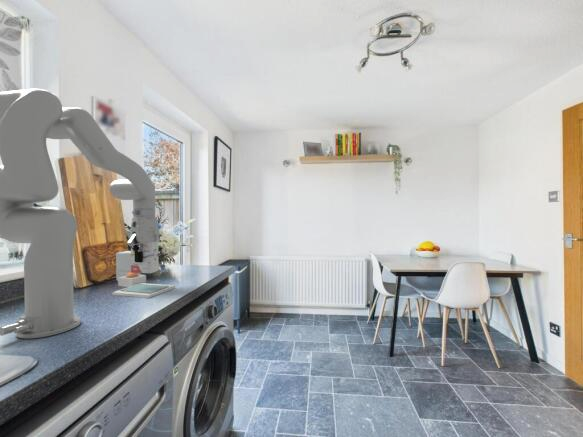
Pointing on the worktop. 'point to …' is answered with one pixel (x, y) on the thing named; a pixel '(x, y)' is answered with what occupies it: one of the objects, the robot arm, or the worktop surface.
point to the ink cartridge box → (146, 258)
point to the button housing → (131, 281)
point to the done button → (132, 275)
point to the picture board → (144, 290)
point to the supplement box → (123, 264)
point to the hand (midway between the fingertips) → (145, 260)
